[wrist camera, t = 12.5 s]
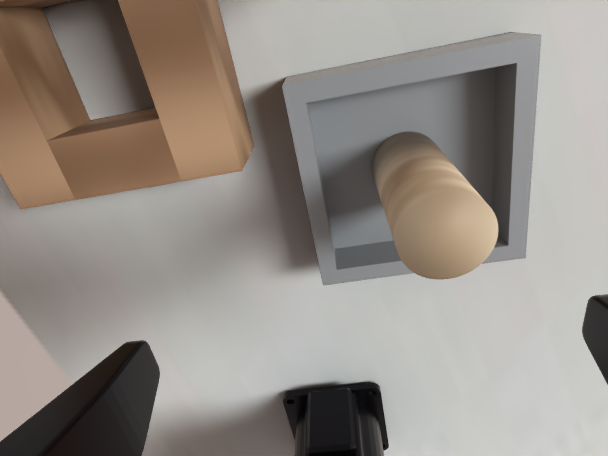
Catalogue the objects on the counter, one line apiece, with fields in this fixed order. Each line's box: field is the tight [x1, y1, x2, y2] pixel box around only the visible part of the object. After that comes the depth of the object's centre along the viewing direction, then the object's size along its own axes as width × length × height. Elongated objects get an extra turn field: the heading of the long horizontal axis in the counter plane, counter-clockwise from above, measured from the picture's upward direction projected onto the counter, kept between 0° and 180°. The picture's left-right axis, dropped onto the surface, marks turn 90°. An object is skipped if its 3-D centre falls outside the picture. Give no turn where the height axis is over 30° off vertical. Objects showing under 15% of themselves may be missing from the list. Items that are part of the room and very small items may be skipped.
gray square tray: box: [282, 32, 541, 285], centre depth 19 cm, size 10×10×3 cm
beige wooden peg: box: [372, 131, 498, 279], centre depth 16 cm, size 3×3×7 cm
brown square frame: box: [0, 0, 254, 209], centre depth 16 cm, size 10×10×4 cm
